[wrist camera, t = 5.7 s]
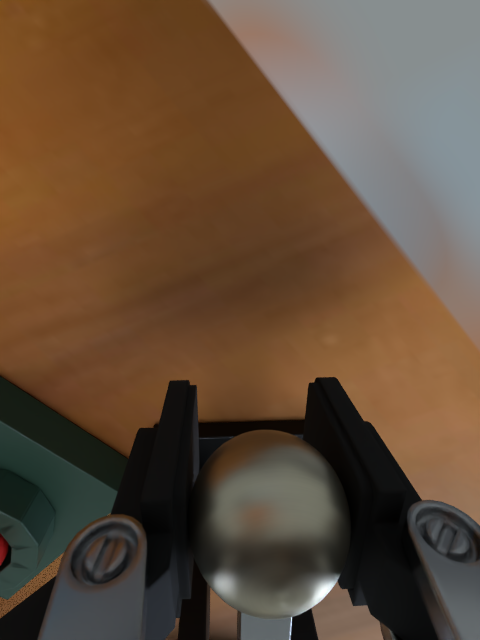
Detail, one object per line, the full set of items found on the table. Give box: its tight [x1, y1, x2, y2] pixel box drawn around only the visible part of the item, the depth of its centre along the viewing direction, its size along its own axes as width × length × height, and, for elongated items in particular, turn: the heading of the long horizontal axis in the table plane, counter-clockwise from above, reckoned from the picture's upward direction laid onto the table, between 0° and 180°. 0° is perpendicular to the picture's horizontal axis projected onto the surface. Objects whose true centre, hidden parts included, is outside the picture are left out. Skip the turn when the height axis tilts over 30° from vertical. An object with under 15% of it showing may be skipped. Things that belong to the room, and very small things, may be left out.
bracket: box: [154, 420, 318, 640], centre depth 14 cm, size 10×9×13 cm
